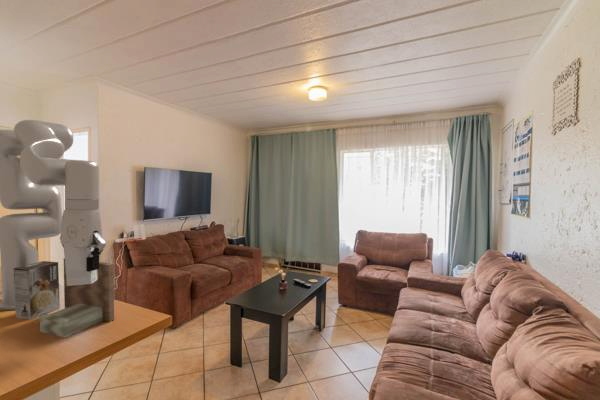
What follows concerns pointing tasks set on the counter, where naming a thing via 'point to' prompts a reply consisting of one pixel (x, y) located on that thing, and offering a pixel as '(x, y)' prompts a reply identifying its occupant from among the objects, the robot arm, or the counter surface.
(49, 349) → the counter surface
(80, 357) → the counter surface
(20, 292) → the coffee box
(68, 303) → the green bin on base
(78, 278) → the skincare box
